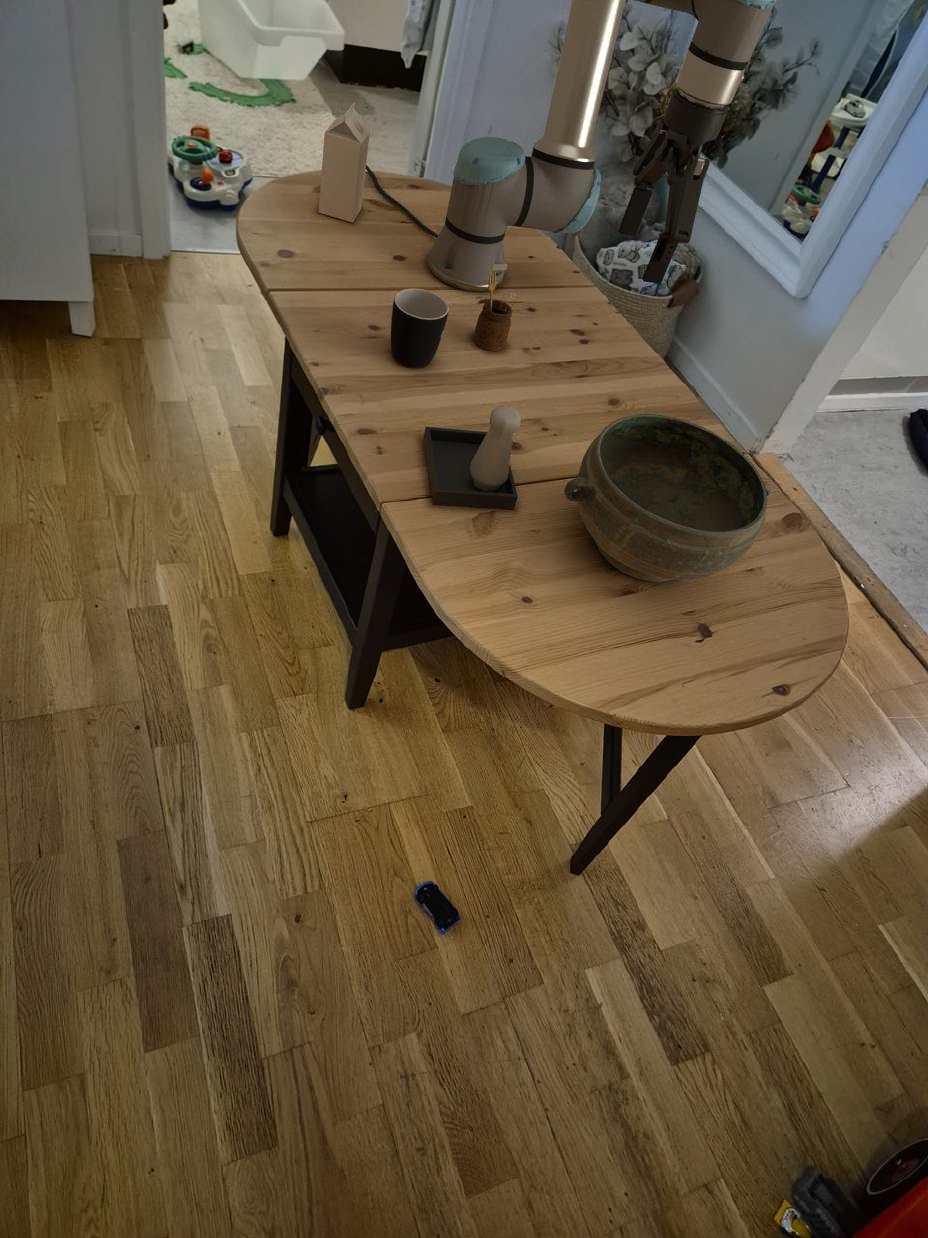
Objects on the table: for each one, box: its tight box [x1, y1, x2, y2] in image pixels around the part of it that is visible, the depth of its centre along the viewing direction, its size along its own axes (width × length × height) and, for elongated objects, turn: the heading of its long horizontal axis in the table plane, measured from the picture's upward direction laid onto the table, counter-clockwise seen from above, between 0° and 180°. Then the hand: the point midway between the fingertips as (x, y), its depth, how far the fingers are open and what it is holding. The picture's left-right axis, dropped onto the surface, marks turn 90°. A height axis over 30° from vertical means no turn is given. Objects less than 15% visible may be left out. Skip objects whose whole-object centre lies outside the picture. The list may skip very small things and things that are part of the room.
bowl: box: [564, 413, 772, 583], centre depth 113 cm, size 32×26×15 cm
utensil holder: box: [473, 270, 517, 352], centre depth 139 cm, size 6×6×12 cm
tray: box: [422, 426, 519, 511], centre depth 119 cm, size 14×12×3 cm
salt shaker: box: [470, 404, 522, 492], centre depth 114 cm, size 6×6×13 cm
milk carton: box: [318, 102, 371, 223], centre depth 155 cm, size 7×7×19 cm
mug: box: [390, 287, 449, 369], centre depth 133 cm, size 12×9×10 cm
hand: (638, 256), depth 117 cm, fingers open, 13 cm apart
